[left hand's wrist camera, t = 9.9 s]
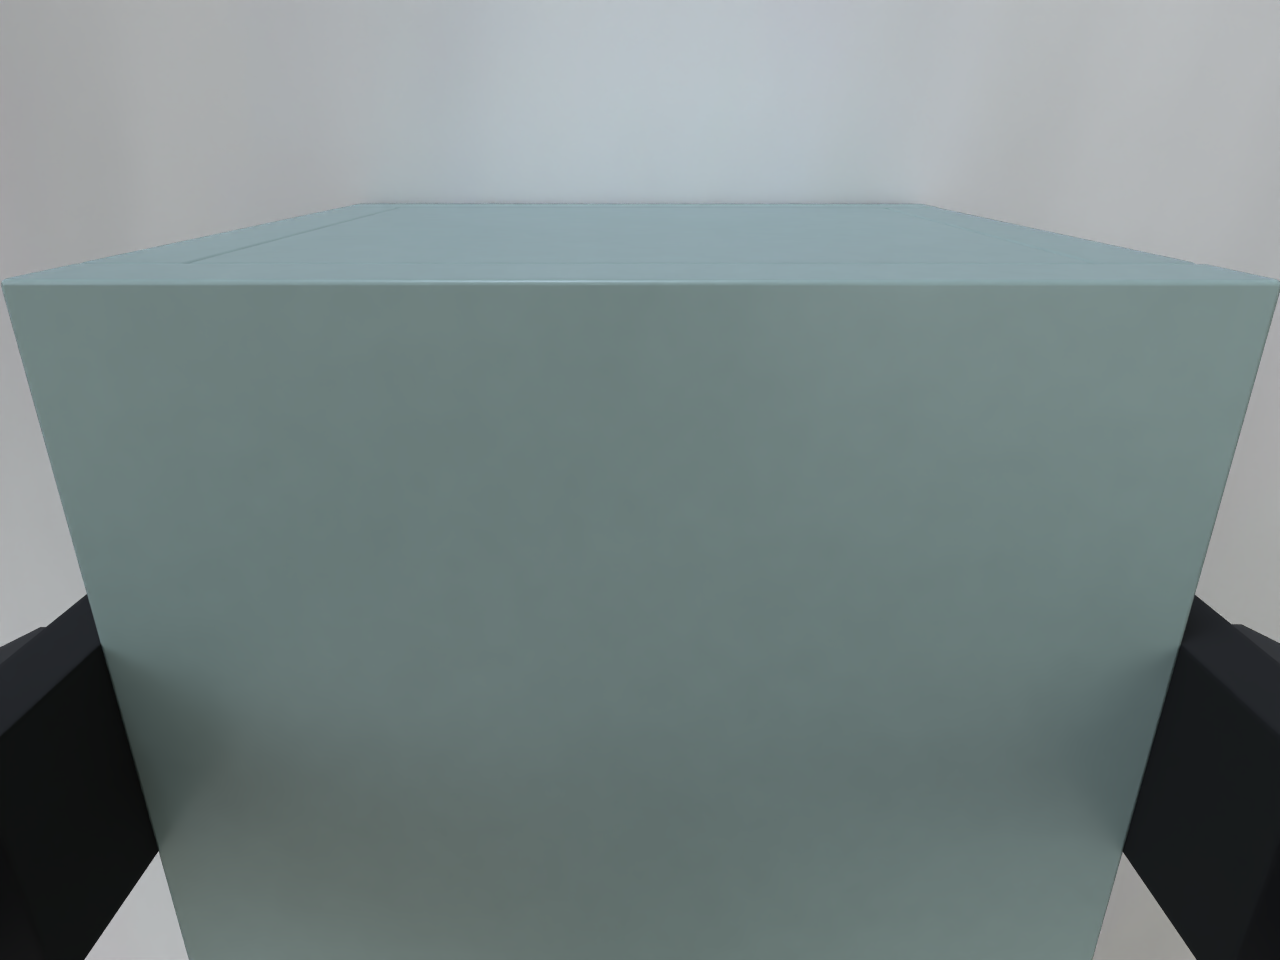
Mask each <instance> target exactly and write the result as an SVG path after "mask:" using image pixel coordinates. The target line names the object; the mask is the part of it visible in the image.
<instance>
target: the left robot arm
mask: <svg viewBox="0 0 1280 960" xmlns="http://www.w3.org/2000/svg"><path fill="white" fill-rule="evenodd" d="M158 851H159V850H158V847H157V843H156V839H155V836H154V832H153V829H152V825H151V821H150V818H149V814H148V811H147V807H146V803H145V800H144V796H143V793H142V789H141V786H140V782H139V778H138V775H137V771H136V768H135V764H134V760H133V757H132V753H131V750H130V746H129V742H128V739H127V735H126V732H125V728H124V725H123V721H122V717H121V714H120V710H119V707H118V703H117V699H116V696H115V692H114V689H113V685H112V681H111V678H110V674H109V671H108V667H107V664H106V660H105V656H104V653H103V649H102V646H101V642H100V638H99V635H98V631H97V628H96V624H95V620H94V617H93V613H92V610H91V606H90V603H89V599H88V595H85V596H84V597H83V598H82V599H80V600H79V601H78V602H77V603H75V604H74V605H73V606H72V607H70V608H69V609H68V610H67V611H66V612H64V613H63V614H62V615H61V616H59V617H58V618H57V619H56V620H54V621H53V622H52V623H51V624H49V625H48V626H47V627H40V628H38V629H36V630H34V631H32V632H30V633H28V634H26V635H24V636H22V637H20V638H18V639H16V640H14V641H12V642H10V643H8V644H6V645H4V646H2V647H0V960H84V959H85V958H86V956H87V955H88V953H89V952H90V951H91V949H92V948H93V946H94V945H95V943H96V942H97V940H98V939H99V937H100V936H101V934H102V933H103V931H104V930H105V929H106V927H107V926H108V924H109V923H110V921H111V920H112V918H113V917H114V915H115V914H116V912H117V911H118V910H119V908H120V907H121V905H122V904H123V902H124V901H125V899H126V898H127V896H128V895H129V893H130V892H131V891H132V889H133V888H134V886H135V885H136V883H137V882H138V880H139V879H140V877H141V876H142V874H143V873H144V872H145V870H146V869H147V867H148V866H149V864H150V863H151V861H152V860H153V858H154V857H155V855H156V854H157V852H158ZM1123 853H1124V854H1125V856H1126V857H1127V858H1128V860H1129V861H1130V863H1131V864H1132V866H1133V867H1134V869H1135V870H1136V872H1137V873H1138V875H1139V876H1140V877H1141V879H1142V880H1143V882H1144V883H1145V885H1146V886H1147V888H1148V889H1149V891H1150V892H1151V894H1152V895H1153V896H1154V898H1155V899H1156V901H1157V902H1158V904H1159V905H1160V907H1161V908H1162V910H1163V911H1164V913H1165V914H1166V915H1167V917H1168V918H1169V920H1170V921H1171V923H1172V924H1173V926H1174V927H1175V929H1176V930H1177V932H1178V933H1179V935H1180V936H1181V937H1182V939H1183V940H1184V942H1185V943H1186V945H1187V946H1188V948H1189V949H1190V951H1191V952H1192V954H1193V955H1194V956H1195V958H1196V959H1197V960H1280V643H1278V642H1276V641H1274V640H1272V639H1270V638H1268V637H1266V636H1264V635H1262V634H1260V633H1258V632H1256V631H1254V630H1252V629H1250V628H1248V627H1246V626H1244V625H1242V624H1230V623H1229V622H1228V621H1227V620H1225V619H1224V618H1223V617H1222V616H1220V615H1219V614H1218V613H1217V612H1216V611H1214V610H1213V609H1212V608H1211V607H1209V606H1208V605H1207V604H1206V603H1204V602H1203V601H1202V600H1201V599H1199V598H1198V597H1197V596H1196V595H1194V599H1193V602H1192V606H1191V610H1190V613H1189V617H1188V620H1187V624H1186V627H1185V631H1184V635H1183V638H1182V642H1181V645H1180V649H1179V652H1178V656H1177V659H1176V663H1175V667H1174V670H1173V674H1172V677H1171V681H1170V684H1169V688H1168V692H1167V695H1166V699H1165V702H1164V706H1163V709H1162V713H1161V716H1160V720H1159V724H1158V727H1157V731H1156V734H1155V738H1154V741H1153V745H1152V748H1151V752H1150V756H1149V759H1148V763H1147V766H1146V770H1145V773H1144V777H1143V781H1142V784H1141V788H1140V791H1139V795H1138V798H1137V802H1136V805H1135V809H1134V813H1133V816H1132V820H1131V823H1130V827H1129V830H1128V834H1127V838H1126V841H1125V845H1124V848H1123Z"/></svg>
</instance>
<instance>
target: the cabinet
mask: <svg viewBox="0 0 1280 960" xmlns="http://www.w3.org/2000/svg"><path fill="white" fill-rule="evenodd" d="M1 287H2V290H3V294H4V297H5V301H6V305H7V308H8V312H9V315H10V319H11V323H12V326H13V330H14V333H15V337H16V341H17V344H18V348H19V351H20V355H21V358H22V362H23V366H24V369H25V373H26V376H27V380H28V384H29V387H30V391H31V394H32V398H33V402H34V405H35V409H36V412H37V416H38V420H39V423H40V427H41V430H42V434H43V437H44V441H45V445H46V448H47V452H48V455H49V459H50V463H51V466H52V470H53V473H54V477H55V481H56V484H57V488H58V491H59V495H60V498H61V502H62V506H63V509H64V513H65V516H66V520H67V524H68V527H69V531H70V534H71V538H72V542H73V545H74V549H75V552H76V556H77V559H78V563H79V567H80V570H81V574H82V577H83V581H84V585H85V588H86V592H87V595H88V599H89V603H90V606H91V610H92V613H93V617H94V620H95V624H96V628H97V631H98V635H99V638H100V642H101V646H102V649H103V653H104V656H105V660H106V664H107V667H108V671H109V674H110V678H111V681H112V685H113V689H114V692H115V696H116V699H117V703H118V707H119V710H120V714H121V717H122V721H123V725H124V728H125V732H126V735H127V739H128V742H129V746H130V750H131V753H132V757H133V760H134V764H135V768H136V771H137V775H138V778H139V782H140V786H141V789H142V793H143V796H144V800H145V803H146V807H147V811H148V814H149V818H150V821H151V825H152V829H153V832H154V836H155V839H156V843H157V847H158V850H159V854H160V857H161V861H162V864H163V868H164V872H165V875H166V879H167V882H168V886H169V890H170V893H171V897H172V900H173V904H174V908H175V911H176V915H177V918H178V922H179V925H180V929H181V933H182V936H183V940H184V943H185V947H186V951H187V954H188V958H189V960H1092V959H1093V955H1094V952H1095V948H1096V944H1097V941H1098V937H1099V934H1100V930H1101V927H1102V923H1103V919H1104V916H1105V912H1106V909H1107V905H1108V902H1109V898H1110V895H1111V891H1112V887H1113V884H1114V880H1115V877H1116V873H1117V870H1118V866H1119V862H1120V859H1121V855H1122V852H1123V848H1124V845H1125V841H1126V838H1127V834H1128V830H1129V827H1130V823H1131V820H1132V816H1133V813H1134V809H1135V805H1136V802H1137V798H1138V795H1139V791H1140V788H1141V784H1142V781H1143V777H1144V773H1145V770H1146V766H1147V763H1148V759H1149V756H1150V752H1151V748H1152V745H1153V741H1154V738H1155V734H1156V731H1157V727H1158V724H1159V720H1160V716H1161V713H1162V709H1163V706H1164V702H1165V699H1166V695H1167V692H1168V688H1169V684H1170V681H1171V677H1172V674H1173V670H1174V667H1175V663H1176V659H1177V656H1178V652H1179V649H1180V645H1181V642H1182V638H1183V635H1184V631H1185V627H1186V624H1187V620H1188V617H1189V613H1190V610H1191V606H1192V602H1193V599H1194V595H1195V592H1196V588H1197V585H1198V581H1199V578H1200V574H1201V570H1202V567H1203V563H1204V560H1205V556H1206V553H1207V549H1208V545H1209V542H1210V538H1211V535H1212V531H1213V528H1214V524H1215V521H1216V517H1217V513H1218V510H1219V506H1220V503H1221V499H1222V496H1223V492H1224V488H1225V485H1226V481H1227V478H1228V474H1229V471H1230V467H1231V464H1232V460H1233V456H1234V453H1235V449H1236V446H1237V442H1238V439H1239V435H1240V431H1241V428H1242V424H1243V421H1244V417H1245V414H1246V410H1247V407H1248V403H1249V399H1250V396H1251V392H1252V389H1253V385H1254V382H1255V378H1256V374H1257V371H1258V367H1259V364H1260V360H1261V357H1262V353H1263V350H1264V346H1265V342H1266V339H1267V335H1268V332H1269V328H1270V325H1271V321H1272V317H1273V314H1274V310H1275V307H1276V303H1277V300H1278V296H1279V293H1280V281H1278V280H1276V279H1272V278H1268V277H1263V276H1258V275H1254V274H1249V273H1244V272H1239V271H1235V270H1230V269H1225V268H1221V267H1216V266H1211V265H1207V264H1194V263H1192V262H1188V261H1183V260H1179V259H1174V258H1169V257H1165V256H1160V255H1155V254H1151V253H1146V252H1141V251H1137V250H1132V249H1127V248H1123V247H1118V246H1113V245H1109V244H1104V243H1099V242H1095V241H1090V240H1085V239H1081V238H1076V237H1071V236H1067V235H1062V234H1057V233H1053V232H1048V231H1043V230H1039V229H1034V228H1029V227H1025V226H1020V225H1015V224H1011V223H1006V222H1001V221H997V220H992V219H987V218H983V217H978V216H973V215H969V214H964V213H959V212H955V211H950V210H945V209H941V208H937V207H933V206H928V205H924V204H357V205H352V206H347V207H342V208H337V209H332V210H328V211H323V212H318V213H314V214H309V215H304V216H299V217H295V218H290V219H285V220H281V221H276V222H271V223H266V224H262V225H257V226H252V227H248V228H243V229H238V230H233V231H229V232H224V233H219V234H215V235H210V236H205V237H200V238H196V239H191V240H186V241H181V242H177V243H172V244H167V245H163V246H158V247H153V248H148V249H144V250H139V251H134V252H130V253H125V254H120V255H115V256H111V257H106V258H101V259H97V260H92V261H87V262H83V263H81V264H73V265H68V266H63V267H59V268H54V269H49V270H44V271H40V272H35V273H30V274H26V275H21V276H16V277H11V278H7V279H5V280H3V281H2V283H1Z"/></svg>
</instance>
